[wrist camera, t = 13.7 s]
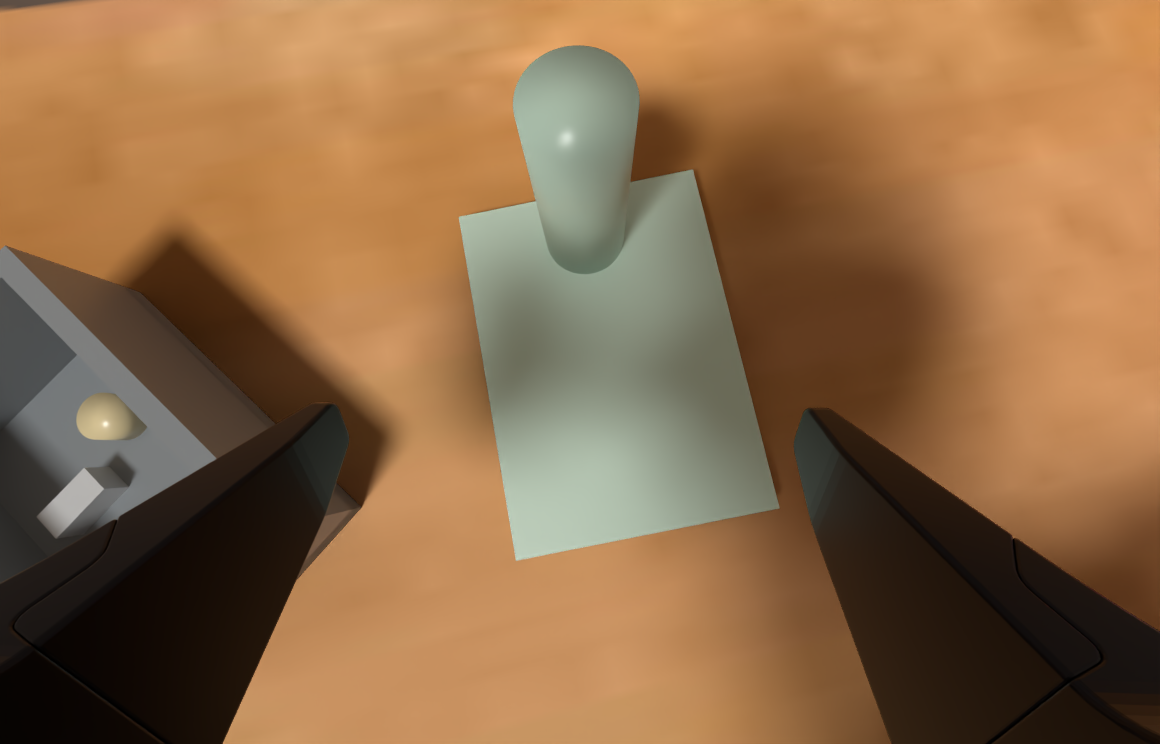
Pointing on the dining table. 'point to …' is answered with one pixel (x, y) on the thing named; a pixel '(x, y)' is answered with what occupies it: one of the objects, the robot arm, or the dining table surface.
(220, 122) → the dining table surface
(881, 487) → the robot arm
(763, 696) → the dining table surface
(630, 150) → the pale green stand
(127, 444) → the parts tub
